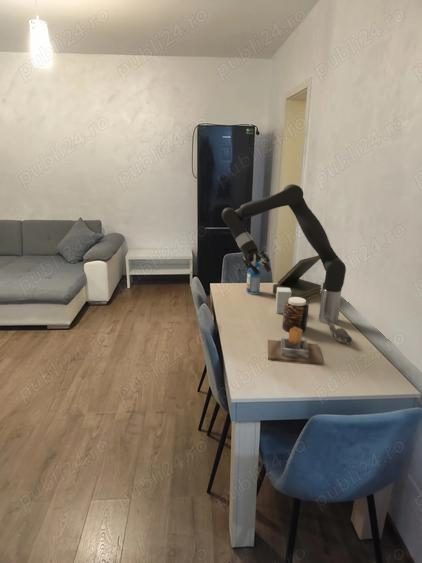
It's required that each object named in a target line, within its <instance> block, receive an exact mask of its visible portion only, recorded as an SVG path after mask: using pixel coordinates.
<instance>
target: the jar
mask: <svg viewBox="0 0 422 563" xmlns="http://www.w3.org/2000/svg"><path fill="white" fill-rule="evenodd" d="M309 307H310V306H309V304H308V303H307V299H306V300H305V299H303V298H300V297H291V298H289V300H288V301H287V302H286V303H285V306H284V313H282V316H283V317H282V329H283V330H284V331H285V332H288V333H289V331H290V329H291V328H293V327H297V328H300V329H302V333H304V332H306V331H307V328H308V320H309V319H308V318H309V310H310V308H309Z"/></svg>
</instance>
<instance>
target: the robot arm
mask: <svg viewBox="0 0 422 563" xmlns="http://www.w3.org/2000/svg"><path fill="white" fill-rule="evenodd" d="M287 206H288V207H289V208H290V211H291V212H292V213H293V214H294V217H295V218H296V221H297V223H298V225H299V227H300V229H301V231H302V233H303V235H304V237H305V238H306V240H307V241H308V243H309V245H311V247H312V248H313V250H314V251H315V252H316V253H317V256H318V255H319V257H320V259H319V260H320V261H321V263H322V266H323V268H324V270H325V278H324V282H323V283H322V286H321V298H320V304H319V312H318V320H319V322H321V323H323V324H327V321H326V320H325V319H324V317H328V318H329V319H330V320H331V321H332V322H333V323H334V324H338V322H339V316H340V311H341V310H340V309H341V305H340V304H341V303H340V302H341V295H342V289H343V286H344V284H345V278H346V272H347V270H346V268H347V267H346V264H345V263H344V262H343V260H342V259H341V258H340V257H339V256H338V254H337V253H336V252H335V251H334V250H335V249H333V247H332V246H331V243H330V240H329V237H328V234H327V233H326V230H325V229H324V227H323V225H322V224H321V222H320V221H319V219H318V217H317V216H316V215H315V214H314V213H313V211H312V210H311V209H310V208H309V206H308V204H307V202H306V200H305V198H304V191H303V189H302V187H300V186H299V185H297V184H294V183H291V184H288V185H286V186H285V187H284V188H283V190H281V191H279V192H278V193H275V194H272V195H269V196H265V197H261V198H259V199H254V200H251V201H248V202H246V203H244V204H243V203H242V204H241V205H240V207H239V208H237V209H236V210H235V209H234V208H232V207H225V208H224V209H223V210H222V212H221V218H222V220H223V222H224V223H225V225H226V226H227V228H228V229H229V231H230V233H231V235H232V238H234V240H235V242H236V243H237V246H238V248H239V250H240V251H241V253H242V254H243V256H242V257H241V259H242V262H243V263H244V265H245V267H246V269H249V268H250V269H252V270H253V272H254V274H255V275H258V274H259V271H258V269H257V267H256V266H255V263H257V262H258V263H260V265H262V266H263V267H264V270H266V272H267V273H269V272H270V271H271V270H272V268H271V266H270V264H269V262H270V259H269V257H268V255H267V254H266V253H265V251H264V250H262V251H260V252H259V250H258V249H259V247H258V245H257V244H256V242H255V240H254V238H253V237H252V236H251V234H250V233H249V231H248V230H247V228H246V227H245V226H244V224H243V222H244V221H245V220H247V219H248V218H252V217H255V216H258V215H260V214H263V213H265V212H268V211H271V210H274V209H277V208H278V209H279V208H281V207H282V208H283V207H287Z"/></svg>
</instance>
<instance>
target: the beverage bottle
mask: <svg viewBox="0 0 422 563" xmlns="http://www.w3.org/2000/svg"><path fill="white" fill-rule="evenodd" d="M255 266H256V267H257V269H258V271H259V274H258V275H255V274H254V272H253V270H252V269H250V268H247V271H246V272H247V274H246V289H245V290H246V291H245V292H246V293H247V294H250V295H258V294H260V287H261V276H262V275H261V273H262V272H261V269H260V267H261V263H258V262H257V263H255Z"/></svg>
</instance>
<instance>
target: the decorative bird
mask: <svg viewBox="0 0 422 563" xmlns="http://www.w3.org/2000/svg"><path fill="white" fill-rule="evenodd" d="M324 319H325V320H326V321H327V323H326V324H327V326H328V328H329V332H330V334H331V336H332V337H333V339H335V340H336V341H337V342H339V343H344V344H349V345H350V346H352V341H353V339H352V337H351V336H350V334H348V332H347V331H346V329H344V328H343V327H342V326H340V325H338V324H337V323H333V322H332V321H331V320H330V319H329V318H328V317H324Z"/></svg>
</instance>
